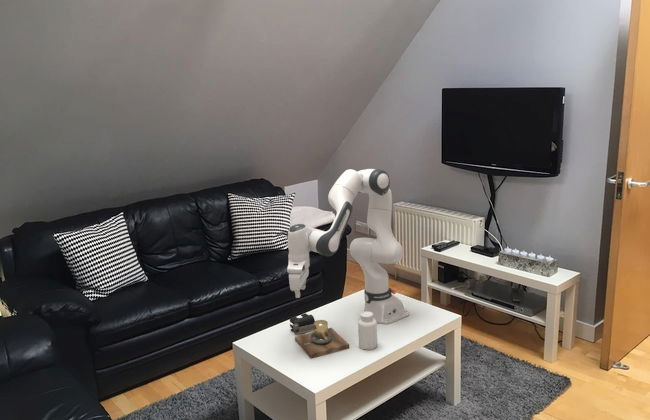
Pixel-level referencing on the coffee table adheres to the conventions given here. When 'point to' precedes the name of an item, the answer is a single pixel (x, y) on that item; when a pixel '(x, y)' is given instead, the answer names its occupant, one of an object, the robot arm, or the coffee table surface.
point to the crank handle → (318, 327)
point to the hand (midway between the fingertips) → (300, 292)
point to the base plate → (320, 350)
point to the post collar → (321, 340)
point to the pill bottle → (367, 331)
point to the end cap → (302, 320)
